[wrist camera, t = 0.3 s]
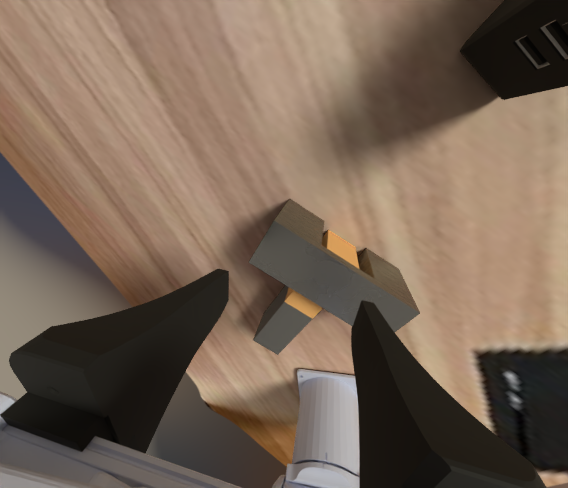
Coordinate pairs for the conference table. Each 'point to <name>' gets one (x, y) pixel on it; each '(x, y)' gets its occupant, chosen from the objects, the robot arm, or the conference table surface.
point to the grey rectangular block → (331, 270)
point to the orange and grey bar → (296, 304)
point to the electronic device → (522, 47)
